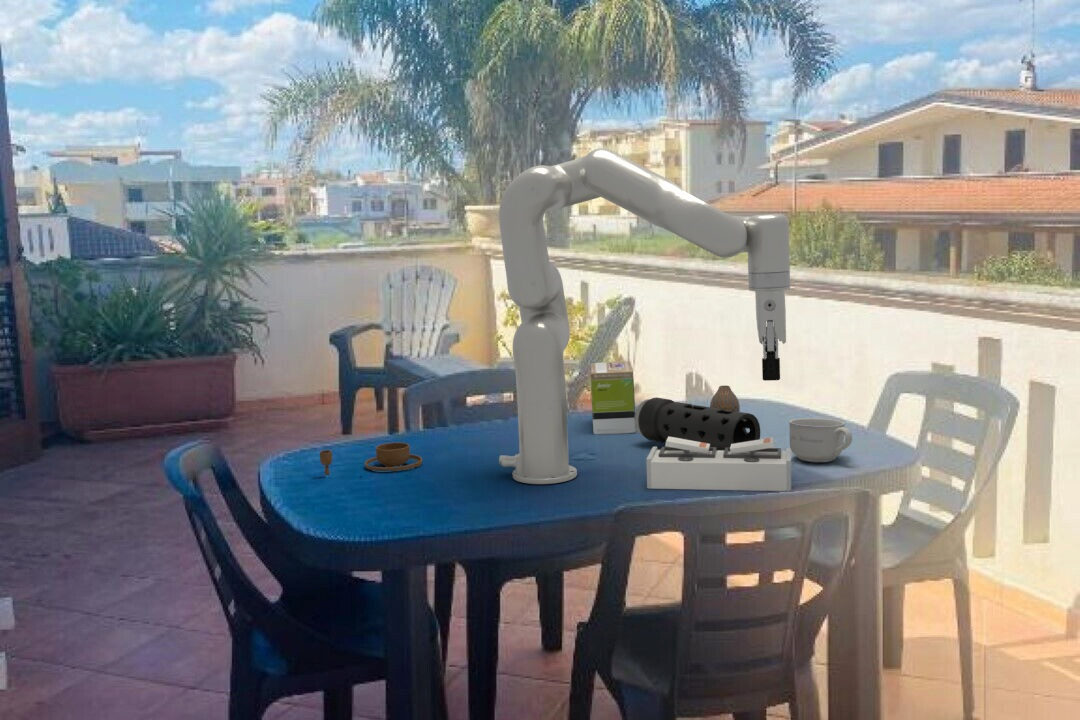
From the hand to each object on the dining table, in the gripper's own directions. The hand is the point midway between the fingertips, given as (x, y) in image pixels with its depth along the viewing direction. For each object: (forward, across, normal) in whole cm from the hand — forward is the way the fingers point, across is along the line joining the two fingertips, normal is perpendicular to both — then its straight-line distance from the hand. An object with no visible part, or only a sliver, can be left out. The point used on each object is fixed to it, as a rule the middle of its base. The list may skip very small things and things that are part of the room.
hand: (771, 379), depth 201 cm
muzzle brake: (+19, +21, +16) cm, 32 cm away
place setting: (+19, +5, +82) cm, 84 cm away
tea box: (+19, +44, +36) cm, 60 cm away
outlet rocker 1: (+13, -2, +16) cm, 21 cm away
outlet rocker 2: (+13, -3, +4) cm, 14 cm away
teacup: (+19, +13, -10) cm, 25 cm away
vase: (+19, +50, +11) cm, 54 cm away
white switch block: (+19, -5, +10) cm, 22 cm away
